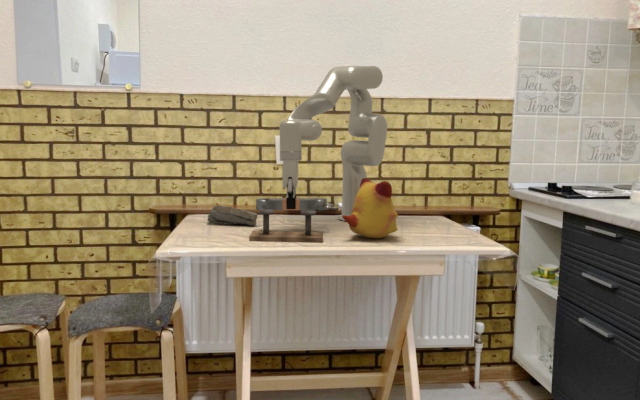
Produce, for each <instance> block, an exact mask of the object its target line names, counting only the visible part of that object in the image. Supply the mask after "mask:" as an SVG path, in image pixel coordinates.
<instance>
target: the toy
mask: <svg viewBox="0 0 640 400" xmlns="http://www.w3.org/2000/svg"><path fill="white" fill-rule="evenodd" d="M392 194H393V187H392V185H391V183H390V182H389V181H386V180H383V181H380V182H378V183H375V182H373V181H372V180H371V179H369V178H368V177H367V178H363V179H362V180H361V183H360V187H359V191H358V193H357V196H356V198H355V202H354V206H353V210H352V213H351V216H345V215H343V216H342V217H343V218H344V220H345V221H344V222H346V223H347V224H348V227H349V229H350V231H352V232H353V233H354V234H356V235H359V236H362V237H365V238H368V239H381V238H385V237H387V236H389V235H390V234H392V233H395V232H397V231H398V230H399V229H398V227H397V218H398V216H399V215H398V213H397V211H396V210H395V206H394V203H393V200H392Z"/></svg>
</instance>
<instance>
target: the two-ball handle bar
mask: <svg viewBox="0 0 640 400" xmlns="http://www.w3.org/2000/svg"><path fill="white" fill-rule="evenodd" d="M286 198H287V197H281V198H269V197H264V198H263V197H262V198H261V197H260V198H259V197H258V198H256V199H255V207H256V208H255V210H257V211H259V210H260V209H272V210H274V211H302V210H314V211H325V210H327V209H328V207H327V206H328V205H327V204H328V203H327V202H328V199H327V198H323V197H315V198H313V197H309V198H308V197H307V198H302V197H296V208H295V209H286Z"/></svg>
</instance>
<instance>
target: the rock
mask: <svg viewBox="0 0 640 400" xmlns="http://www.w3.org/2000/svg"><path fill="white" fill-rule="evenodd" d="M257 218H258V213H256V212H253V211H248V210H245V209H239V208H235V207H232V206H227V205H226V206H225V205H218V204H217V205H214V206H213V207H212V208H211V210H210V211H209V213H208V215H207V222H209V223H212V224H215V225H246V226H249V227H254V226H255V225H256V224H257V220H258V219H257Z"/></svg>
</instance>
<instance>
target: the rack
mask: <svg viewBox="0 0 640 400" xmlns="http://www.w3.org/2000/svg"><path fill="white" fill-rule="evenodd" d="M274 211H275V210H272V209H260V210H258V214H259V215H262V230H252V232H251V233H250V234H249V238H248V239H249V242H278V241H279V242H280V241H281V243H283V242H286V243H290V242H291V243H322V242H324V232H319V231H318V232H316V231H315V232H312V216H315V215H317V210H300V215H301V216H305V217H304V231H277V230H275V231H270V215H273V214H275V213H274Z"/></svg>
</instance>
